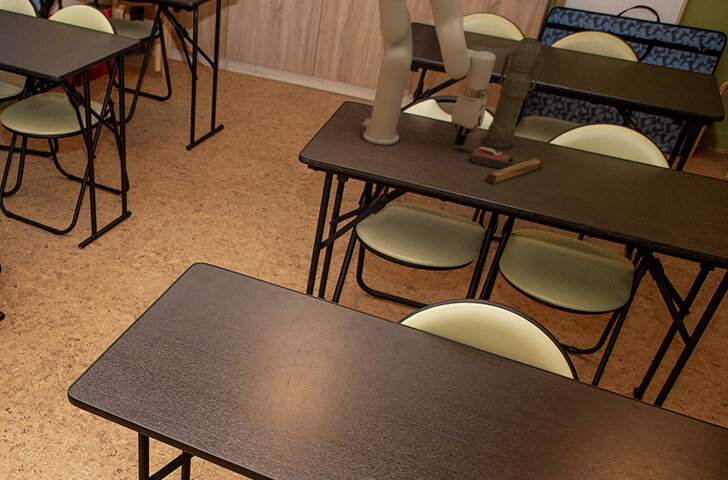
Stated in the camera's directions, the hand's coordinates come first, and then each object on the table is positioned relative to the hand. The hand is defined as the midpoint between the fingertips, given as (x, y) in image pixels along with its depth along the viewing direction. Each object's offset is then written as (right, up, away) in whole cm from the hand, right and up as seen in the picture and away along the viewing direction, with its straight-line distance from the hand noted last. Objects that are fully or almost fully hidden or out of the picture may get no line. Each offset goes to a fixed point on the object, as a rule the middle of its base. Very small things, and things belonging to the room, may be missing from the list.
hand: (459, 144), depth 241 cm
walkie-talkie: (+5, -7, -6) cm, 11 cm away
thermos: (+16, +2, +5) cm, 16 cm away
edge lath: (+12, -14, -14) cm, 24 cm away
